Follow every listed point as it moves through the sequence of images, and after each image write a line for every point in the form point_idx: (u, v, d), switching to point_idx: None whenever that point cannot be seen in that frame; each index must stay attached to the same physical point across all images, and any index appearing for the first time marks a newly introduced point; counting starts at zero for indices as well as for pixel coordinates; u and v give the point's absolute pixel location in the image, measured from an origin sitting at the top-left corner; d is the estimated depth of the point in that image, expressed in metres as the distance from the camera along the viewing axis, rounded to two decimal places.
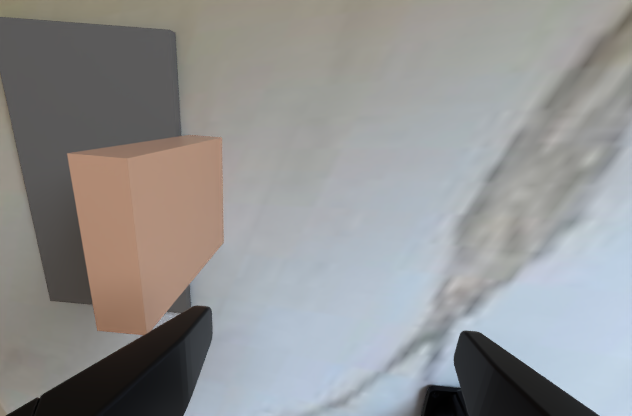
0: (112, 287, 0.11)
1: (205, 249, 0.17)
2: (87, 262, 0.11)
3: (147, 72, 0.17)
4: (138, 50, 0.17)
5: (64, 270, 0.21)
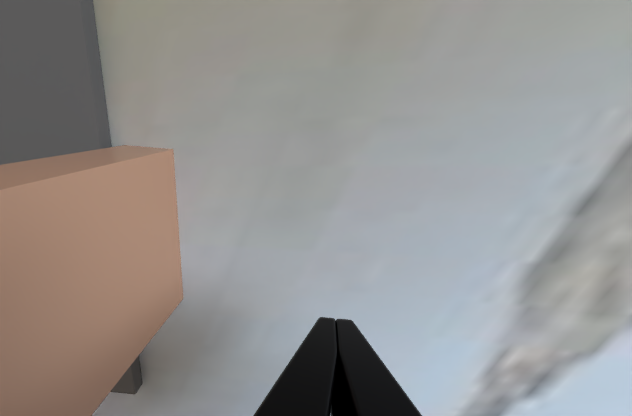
0: None
1: (143, 326, 0.11)
2: None
3: (47, 47, 0.11)
4: (29, 11, 0.10)
5: None
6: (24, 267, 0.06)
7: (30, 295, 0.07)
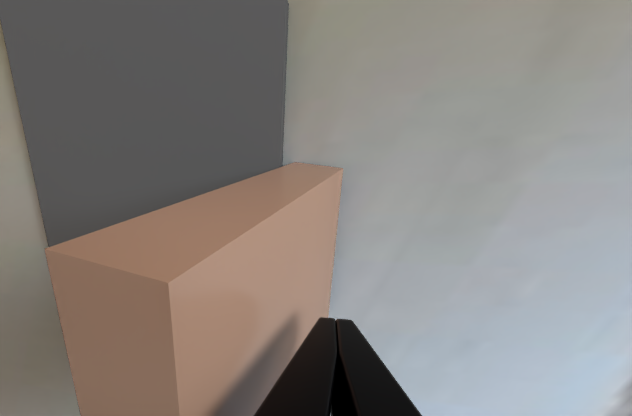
0: None
1: None
2: None
3: (243, 67, 0.11)
4: (232, 32, 0.10)
5: None
6: (262, 298, 0.06)
7: (261, 326, 0.06)
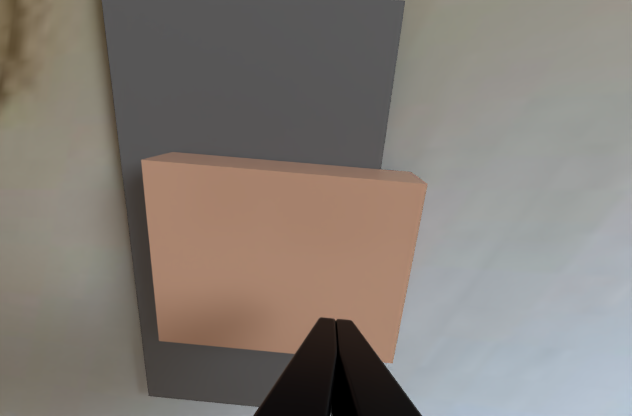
0: None
1: None
2: None
3: (353, 71, 0.10)
4: (345, 35, 0.10)
5: (174, 357, 0.15)
6: (217, 217, 0.10)
7: (217, 236, 0.10)
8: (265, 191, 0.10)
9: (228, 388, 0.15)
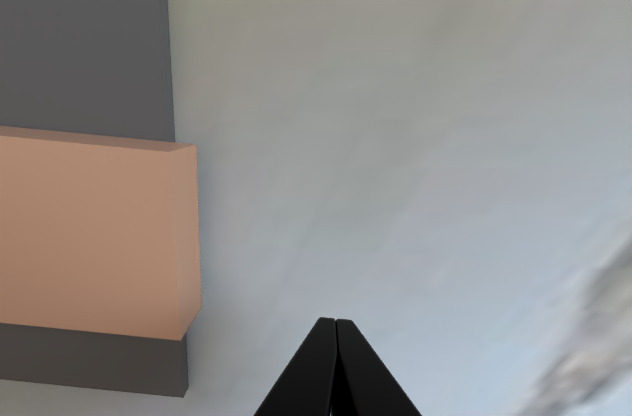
0: None
1: (95, 311, 0.11)
2: None
3: (118, 37, 0.10)
4: None
5: (1, 338, 0.14)
6: None
7: None
8: (7, 158, 0.09)
9: (61, 369, 0.15)
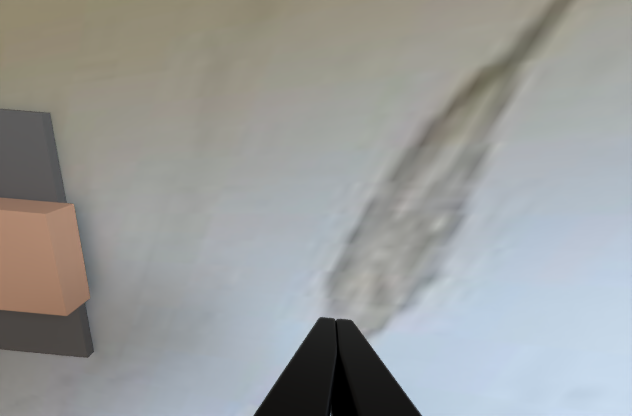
0: None
1: (17, 299, 0.19)
2: None
3: (25, 148, 0.18)
4: (14, 130, 0.18)
5: None
6: None
7: None
8: None
9: (9, 339, 0.23)
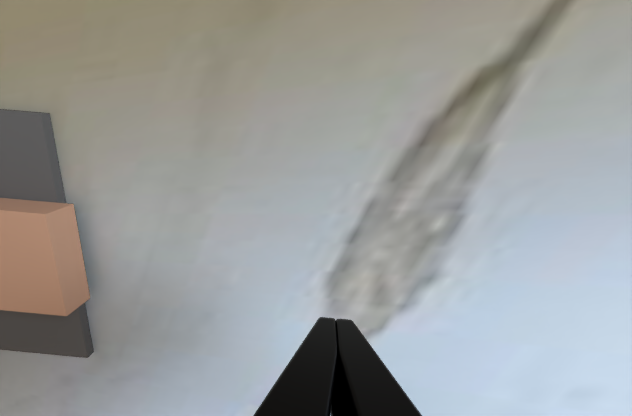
0: None
1: (17, 299, 0.19)
2: None
3: (24, 148, 0.18)
4: (14, 130, 0.18)
5: None
6: None
7: None
8: None
9: (9, 339, 0.23)
